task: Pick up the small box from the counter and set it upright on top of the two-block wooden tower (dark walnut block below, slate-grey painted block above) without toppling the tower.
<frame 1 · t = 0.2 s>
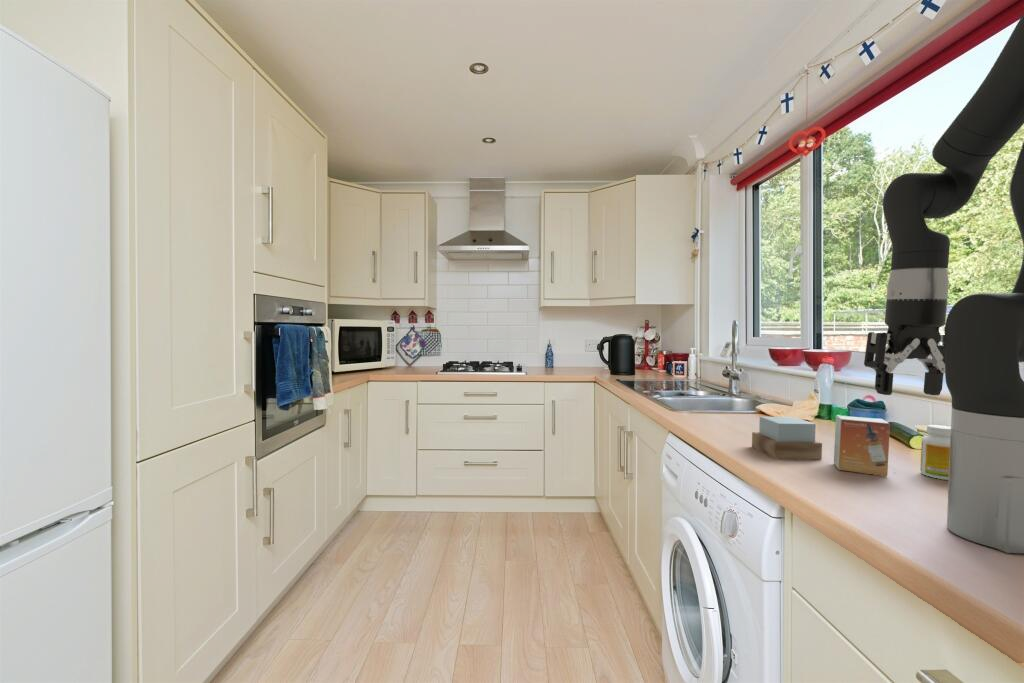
hand: (907, 394, 76), 17 cm above the countertop, tool pointing down, fingers open, 8 cm apart
supplement bottle: (938, 477, 88), on the countertop
walnut base block: (784, 454, 103), on the countertop, touching slate top block
slate top block: (786, 437, 103), point 4 cm above the countertop, touching walnut base block
small box: (859, 471, 91), on the countertop
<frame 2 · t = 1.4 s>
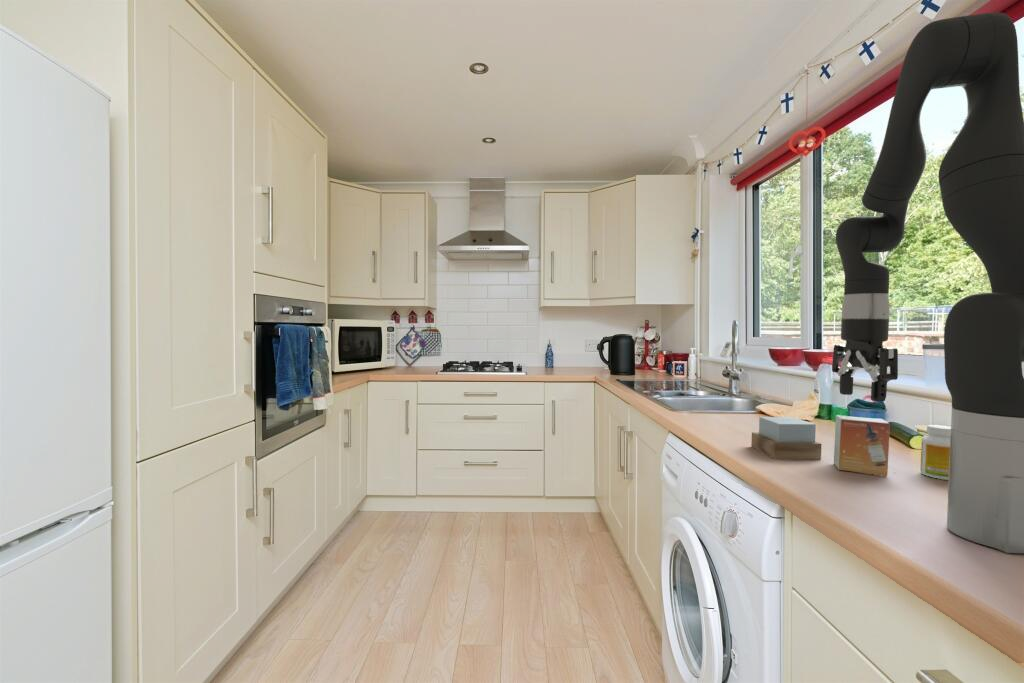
hand: (861, 397, 91), 15 cm above the countertop, tool pointing down, fingers open, 8 cm apart
walnut base block: (784, 455, 103), on the countertop
slate top block: (785, 437, 103), point 3 cm above the countertop
everything else where it was.
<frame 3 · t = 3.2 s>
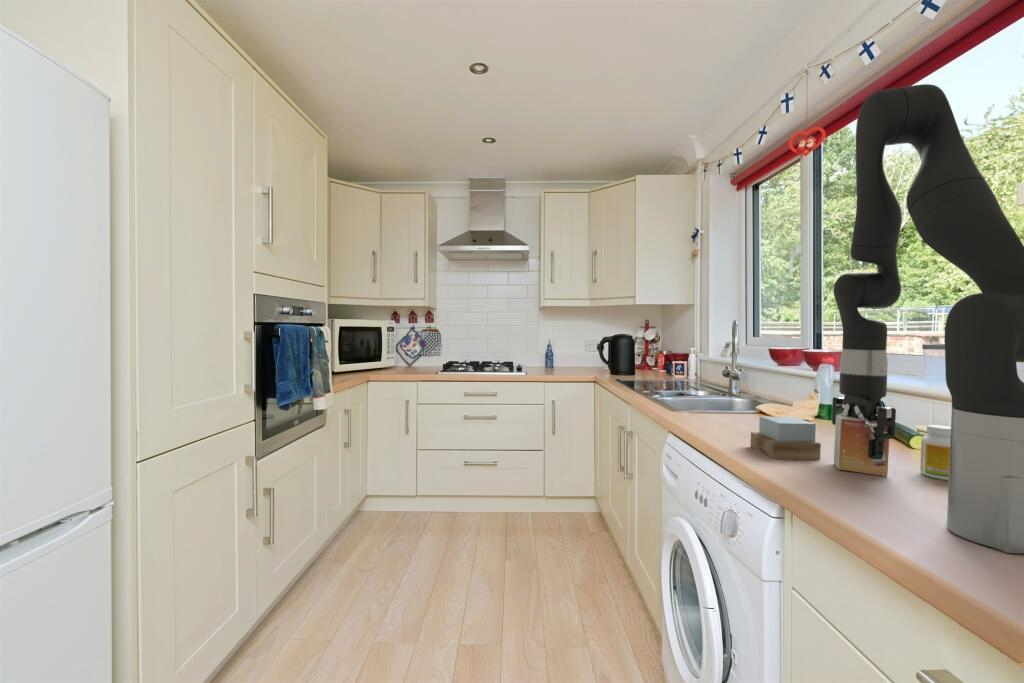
hand: (860, 453, 91), 3 cm above the countertop, tool pointing down, fingers closed on small box, 7 cm apart
small box: (859, 470, 91), on the countertop, touching gripper
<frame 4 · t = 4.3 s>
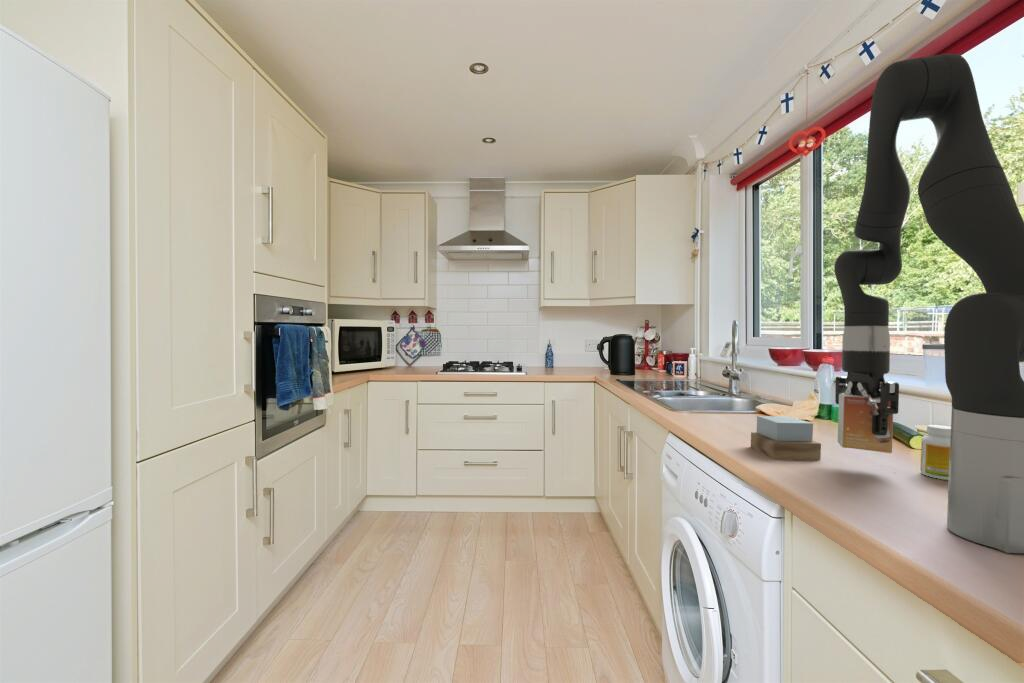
hand: (864, 430, 90), 8 cm above the countertop, tool pointing down, fingers closed on small box, 7 cm apart
walnut base block: (783, 454, 103), on the countertop, touching slate top block
slate top block: (783, 436, 104), point 4 cm above the countertop, touching walnut base block
small box: (863, 449, 90), point 4 cm above the countertop, touching gripper
everything else where it was.
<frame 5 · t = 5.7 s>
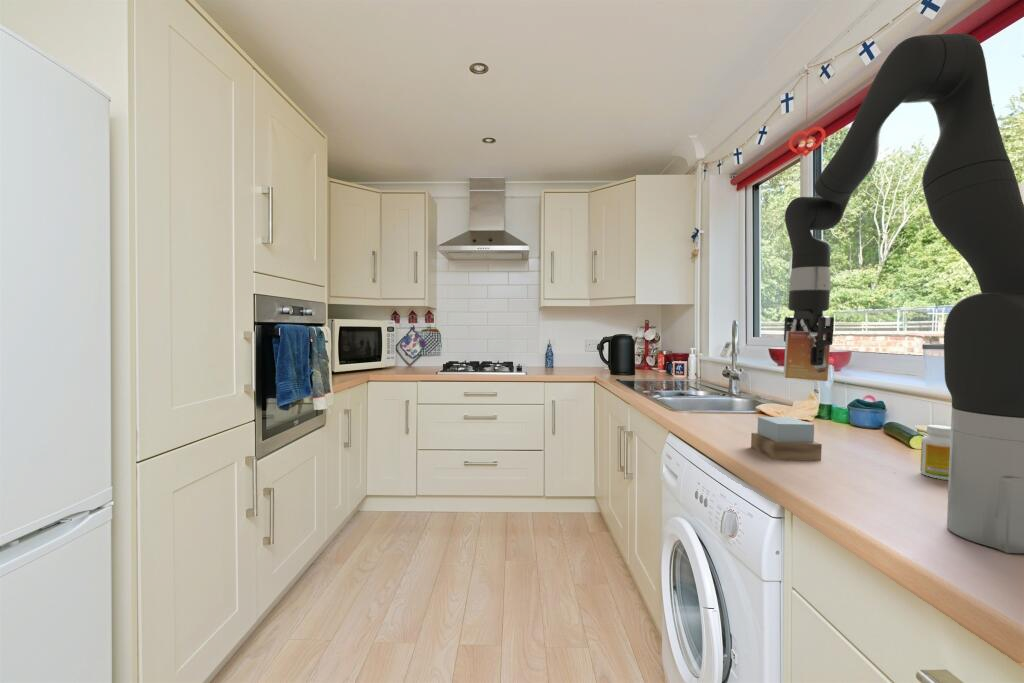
hand: (805, 363, 100), 21 cm above the countertop, tool pointing down, fingers closed on small box, 7 cm apart
small box: (804, 379, 100), point 17 cm above the countertop, touching gripper
when the fingers open (13 cm above the countertop, at t = 8.6 s): small box drops 2 cm, resting on slate top block.
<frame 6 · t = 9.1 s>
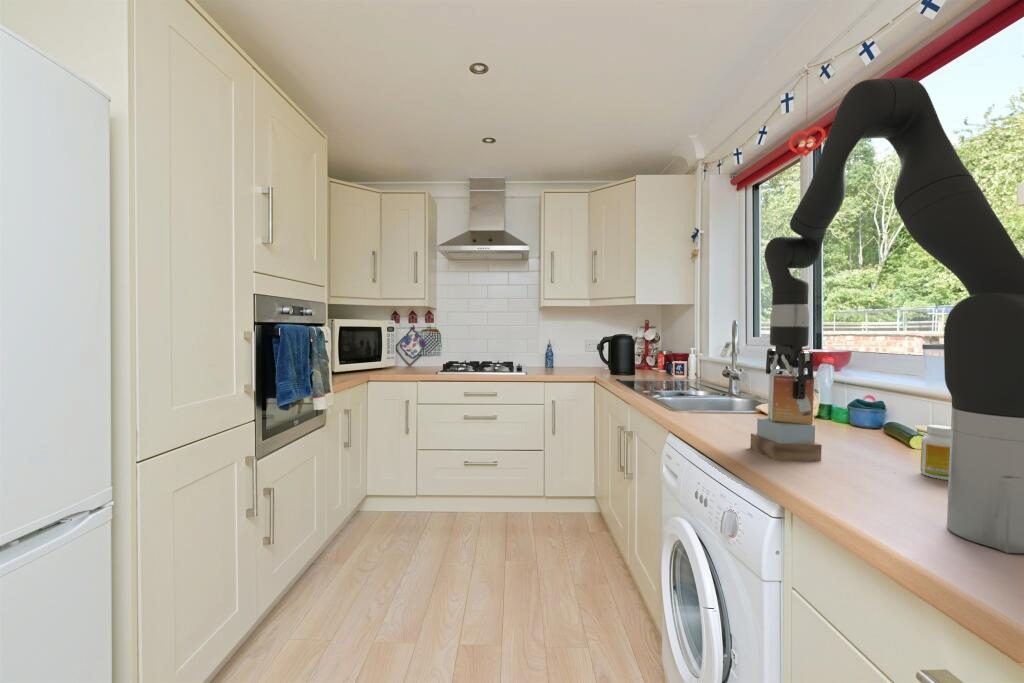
hand: (787, 396, 103), 13 cm above the countertop, tool pointing down, fingers open, 8 cm apart
slate top block: (784, 439, 102), point 3 cm above the countertop, touching small box, walnut base block
small box: (789, 422, 102), point 7 cm above the countertop, touching gripper, slate top block
everything else where it was.
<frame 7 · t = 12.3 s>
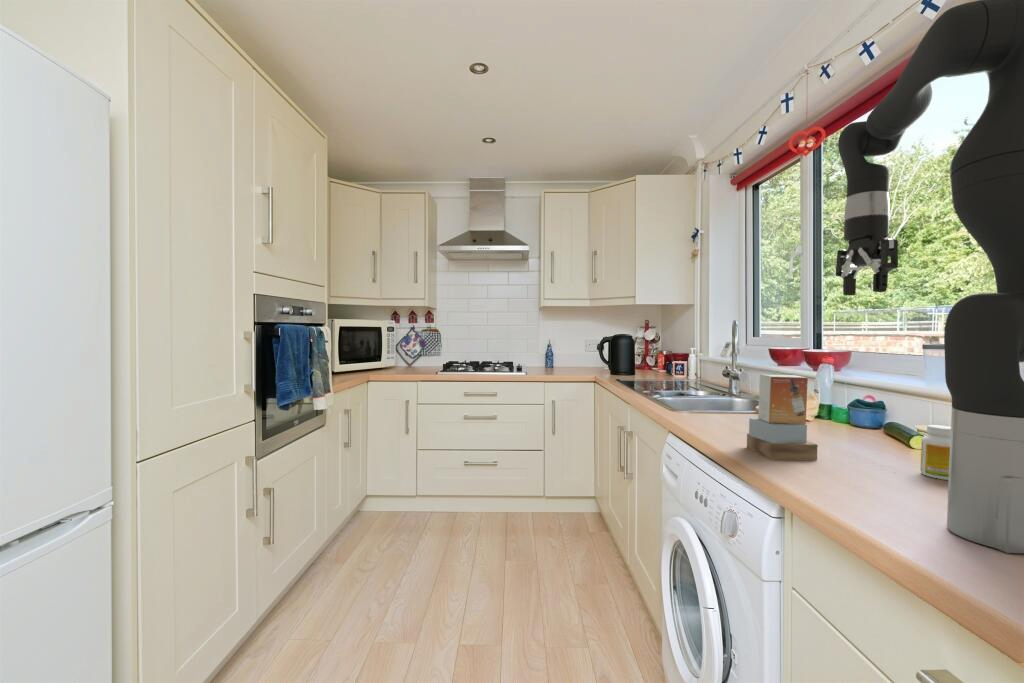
hand: (863, 293, 96), 36 cm above the countertop, tool pointing down, fingers open, 8 cm apart
slate top block: (776, 438, 103), point 3 cm above the countertop, touching small box, walnut base block
small box: (781, 422, 102), point 7 cm above the countertop, touching slate top block
at the end: small box inside the target area (1.9 cm from its centre), point 7.2 cm above the countertop; small box tilted 0°; slate top block moved 2.7 cm from its start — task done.
